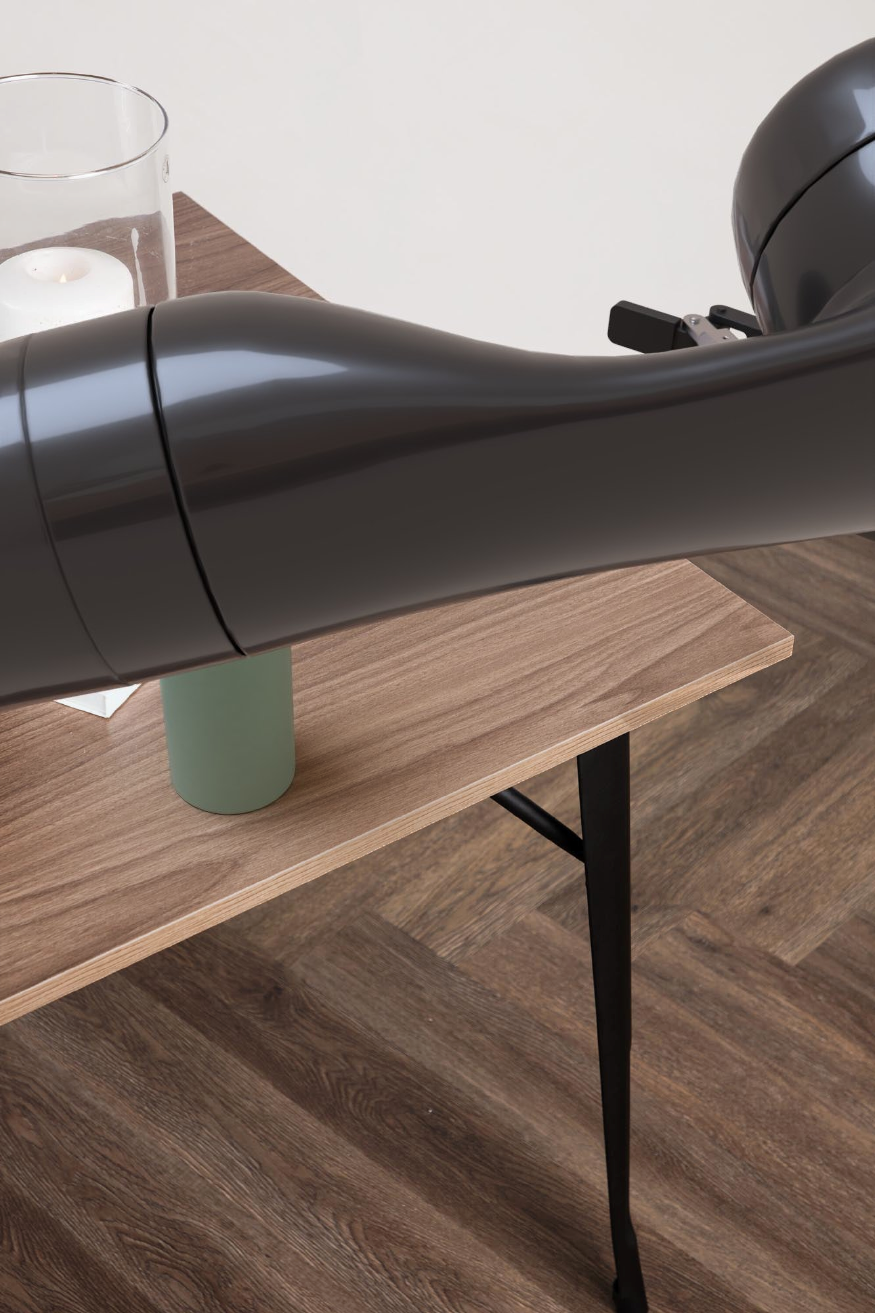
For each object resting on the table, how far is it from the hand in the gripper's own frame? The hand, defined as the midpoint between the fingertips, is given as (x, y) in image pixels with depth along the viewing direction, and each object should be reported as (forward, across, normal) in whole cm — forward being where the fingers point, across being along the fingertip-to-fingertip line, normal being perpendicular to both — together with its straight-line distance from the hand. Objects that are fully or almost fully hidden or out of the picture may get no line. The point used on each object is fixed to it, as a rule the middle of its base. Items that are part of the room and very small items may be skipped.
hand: (571, 351), depth 71 cm
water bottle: (+7, +20, +18) cm, 27 cm away
